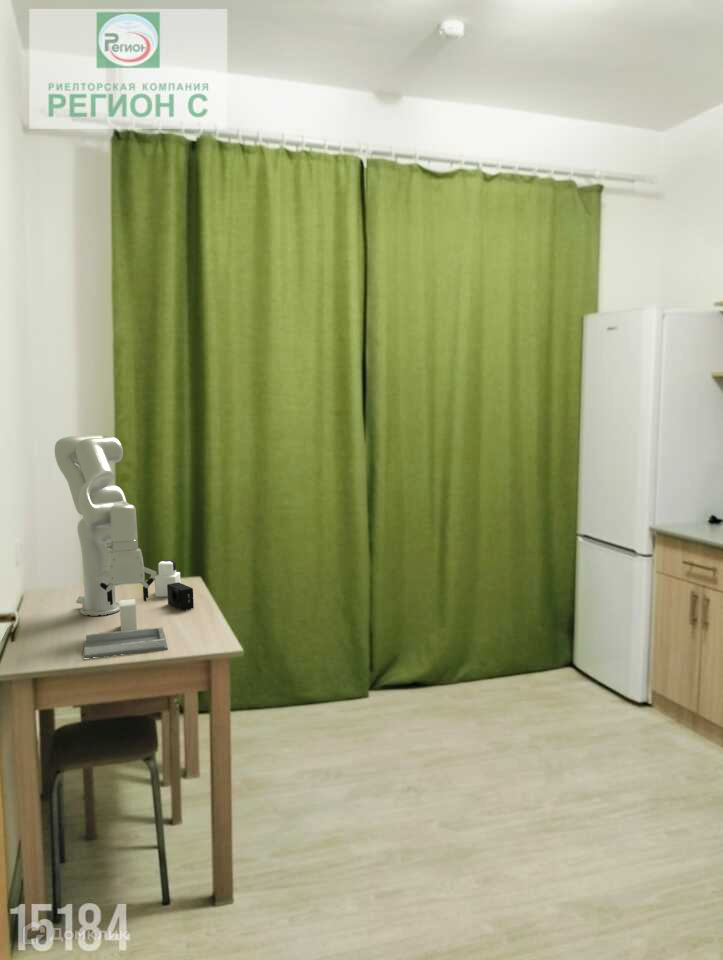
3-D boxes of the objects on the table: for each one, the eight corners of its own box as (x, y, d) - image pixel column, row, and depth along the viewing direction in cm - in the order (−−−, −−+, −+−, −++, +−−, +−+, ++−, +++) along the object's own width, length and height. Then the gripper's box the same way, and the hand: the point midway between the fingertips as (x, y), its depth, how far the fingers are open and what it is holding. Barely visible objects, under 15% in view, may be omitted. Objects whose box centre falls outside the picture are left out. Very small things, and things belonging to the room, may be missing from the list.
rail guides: (85, 656, 203) (84, 648, 203) (86, 641, 215) (86, 634, 215) (165, 646, 210) (165, 639, 210) (162, 633, 221) (162, 626, 221)
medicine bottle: (161, 591, 270) (159, 558, 269) (181, 591, 270) (179, 558, 268) (155, 596, 263) (153, 563, 262) (175, 596, 263) (174, 563, 261)
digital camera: (164, 605, 253) (163, 584, 252) (179, 602, 257) (178, 581, 256) (178, 611, 245) (177, 590, 244) (193, 608, 249) (192, 587, 248)
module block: (121, 632, 224) (119, 606, 224) (120, 625, 231) (119, 600, 230) (136, 631, 226) (135, 605, 225) (136, 624, 232) (134, 599, 232)
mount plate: (83, 659, 202) (83, 657, 202) (84, 643, 216) (84, 640, 216) (167, 649, 209) (167, 647, 209) (164, 634, 222) (164, 632, 222)
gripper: (93, 550, 219) (97, 608, 221) (155, 545, 224) (158, 601, 226) (94, 546, 226) (98, 602, 228) (154, 541, 231) (157, 596, 233)
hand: (128, 602), depth 227 cm, fingers open, 9 cm apart
